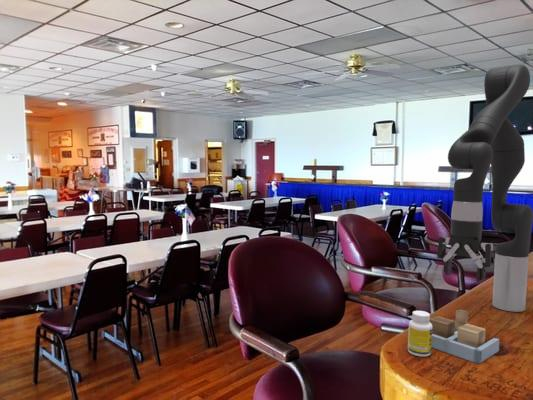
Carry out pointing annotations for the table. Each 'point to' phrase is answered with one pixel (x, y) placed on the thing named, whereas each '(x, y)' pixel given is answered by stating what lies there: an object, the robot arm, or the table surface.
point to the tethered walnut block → (448, 324)
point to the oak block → (471, 335)
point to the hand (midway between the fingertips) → (463, 278)
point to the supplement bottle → (420, 334)
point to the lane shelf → (465, 348)
